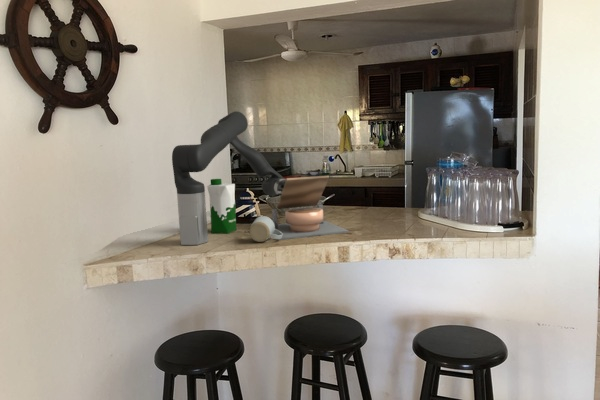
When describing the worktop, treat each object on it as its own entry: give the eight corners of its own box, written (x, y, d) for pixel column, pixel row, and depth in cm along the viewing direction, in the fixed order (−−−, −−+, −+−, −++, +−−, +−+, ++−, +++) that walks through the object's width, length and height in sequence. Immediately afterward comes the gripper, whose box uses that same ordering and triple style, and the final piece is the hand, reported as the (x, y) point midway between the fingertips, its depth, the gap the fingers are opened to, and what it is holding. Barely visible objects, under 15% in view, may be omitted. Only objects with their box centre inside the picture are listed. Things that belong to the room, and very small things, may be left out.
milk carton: (219, 228, 180) (216, 178, 177) (240, 229, 177) (237, 178, 174) (207, 233, 171) (204, 180, 169) (229, 234, 168) (226, 180, 166)
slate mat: (260, 227, 180) (260, 225, 180) (321, 220, 188) (321, 219, 188) (279, 240, 156) (279, 238, 156) (348, 232, 164) (348, 230, 164)
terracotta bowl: (321, 232, 162) (321, 213, 161) (282, 233, 164) (282, 213, 163) (325, 225, 176) (324, 207, 175) (289, 225, 177) (288, 207, 177)
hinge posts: (272, 229, 174) (271, 208, 173) (321, 224, 181) (320, 204, 180) (273, 230, 173) (272, 209, 172) (323, 225, 179) (322, 205, 178)
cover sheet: (277, 209, 173) (276, 207, 174) (316, 206, 179) (316, 204, 179) (287, 180, 159) (286, 178, 159) (329, 177, 164) (328, 175, 164)
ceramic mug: (249, 243, 152) (246, 221, 151) (254, 238, 160) (252, 216, 159) (280, 241, 150) (278, 218, 149) (284, 236, 159) (282, 214, 158)
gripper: (269, 180, 184) (283, 184, 168) (300, 178, 189) (316, 182, 173) (270, 198, 185) (284, 205, 169) (300, 196, 190) (317, 202, 174)
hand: (300, 193), depth 171 cm, fingers closed
